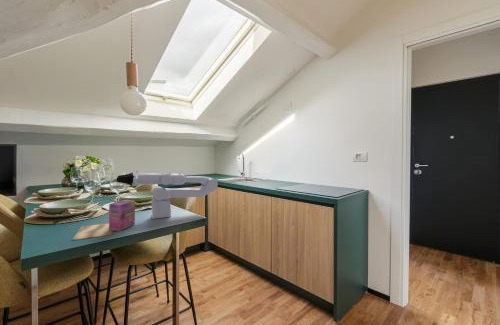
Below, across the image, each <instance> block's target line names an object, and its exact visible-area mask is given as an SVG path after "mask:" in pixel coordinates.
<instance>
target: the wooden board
mask: <svg viewBox="0 0 500 325" xmlns="http://www.w3.org/2000/svg"><path fill="white" fill-rule="evenodd" d="M113 232H114V230H109V222H108V223H100V224H98V223H97V224H91V225H83V226H81V227H80V228H79V229H78V231H77V232H76V234H75V235H74V236H73V237H72V239H71V240H72V241H77V240H78V241H79V240H85V239H93V238H99V237H107V236H112V235H113Z"/></svg>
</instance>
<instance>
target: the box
mask: <svg viewBox="0 0 500 325" xmlns="http://www.w3.org/2000/svg"><path fill="white" fill-rule="evenodd" d="M108 207H109V208H108V210H109V211H108V223H109V230H113V231H115V232H120V231H122V230H124V229H126V228H130V227H132V226H134V225H135V224H136V223H135V222H136V221H135V220H136V218H135V217H136V214H135V213H136V200H134V199H123V200H119V201H116V202H111V203H109V205H108Z"/></svg>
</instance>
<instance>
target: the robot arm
mask: <svg viewBox="0 0 500 325" xmlns="http://www.w3.org/2000/svg"><path fill="white" fill-rule="evenodd" d="M133 172H134V171H133ZM133 172H130V173H125V174H120V175H117V177H116V182H117V183H119V184H127V185H129V186H131V187H133V183H135V185H136V186H137V185H164V186H168V185H184V184H185V183H195V184H196V183H197V184H200V186H199V187H198V188H167V187H162V186H154V187H153V188H152V190H151V194H152V198H151V215H150V216H151V219H152V220H153V219H154V220H155V219H164V218H171V217H172V208H171V198H204V197H205V196H207V195H209V194H210V193H213V192H215V191H216V189H217V188H218V186H219V183H218V181H217V180H216V179H215V178H212V177H210V176H203V175H202V176H198V175H197V176H196V175H195V176H192V175H191V176H185V174H183V173H181V172H178V173H172V172H169V174H168V173H166V172H163V173H147V172H146V173H145V172H144V173H143V172H141V173H140V172H139V171H138V170H136V173H135V175H134V173H133Z"/></svg>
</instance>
